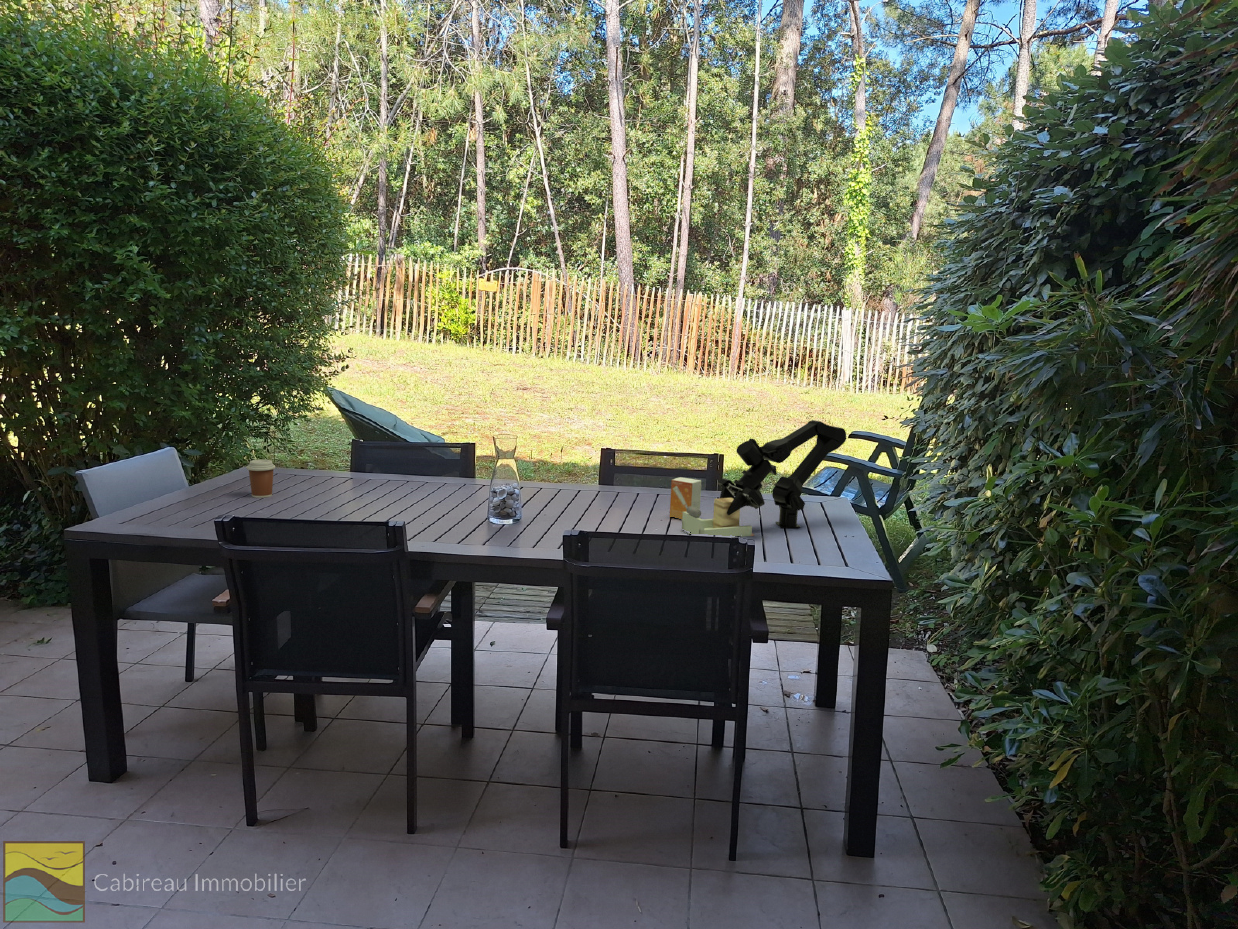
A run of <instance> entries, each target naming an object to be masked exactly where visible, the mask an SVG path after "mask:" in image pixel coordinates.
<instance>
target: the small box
mask: <svg viewBox="0 0 1238 929" xmlns="http://www.w3.org/2000/svg"><path fill="white" fill-rule="evenodd" d="M701 493H702V480H700V479H696V478H695V479H694V478H691V477H690V478H689V477H688V478H687V477H682V476H680V477H676V478H673V479H671V485H670V503H669V518H670V517H675V518H679V519H682V516H683V512H687V511H686V510H687V508H688V507H689V506H692V507H694V508H696V509H698V510H700V511H701ZM679 519H678V520H679Z"/></svg>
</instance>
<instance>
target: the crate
mask: <svg viewBox="0 0 1238 929" xmlns="http://www.w3.org/2000/svg"><path fill="white" fill-rule="evenodd" d="M732 501H733V498H720V497H719V498H718V497H717V498H714V501H713V518H712V519H713V528H723V527H736V526H740V515H741V508H740V509H739V510H737V511H735V512H734V513H732V514H730V515H728V514H727V511H728V509H729V507H730V505H731V503H732Z"/></svg>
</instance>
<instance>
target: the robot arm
mask: <svg viewBox="0 0 1238 929" xmlns="http://www.w3.org/2000/svg"><path fill="white" fill-rule="evenodd" d="M815 437H816V442H815V445H813V448H811V450H810V451H809V452H808V453H807V455H806V456H805V457H804V459H803V460H802V461H801V462H800V463H799V465H798V466H797V467H796V469H795V470H794V471H792V473H791V475H789V476H787V477H786V476H783V475H781V476H780V477H779V479H778V480H777V482H776V483H774V484H773V488H772V490H771V492H772V494H771V496H772V499H773V501H774V502H773V503H774V504H775V506H777V507H779V516H778V517H779V518H778V519H779V520H778V521H774V522H775V524H776V525H777V526H778V527H780V529H800V528H801V525H799V524H798V512H799V511H800V510H802V511H803V510H804V508H805V505H806V502H805V501H804V500H803V498H802V497H801V496H802V494H803V488H804V487H803V486H804V484H805V483H806V482H807V481H808V479H809V478H810V477H811V476H812V474H813V473H814V472H815V471H816V469H817V468H818V467H819V466H820V464H821V463H822V462H823V461H824V459H826V457H827V456H828V454H830V453H831V452H834V451H836V450H839V448H840V447H842V445H844V444H845V442H846V440H847V432H846V430H845V428H843V427H839V426H833V425H829V424H826V423H825V422H823V421H819V420H813V419H811V420H809V421H808V422H807V423H806V424H804V425H802V426H800V428H797V429H796V430H794V431H793V432H791V433H790V434H788V435H786V436H785V437H781V438H778V439H773V440H770V441H767V442H765V443H764V444H763V445H762V446H760V445H759V444H758V442H757V441H756V439H755V438H751V437H750V438H749V439H748V440H746V441H744V442H742V443H740V444H739V445H738V446H737V448H736V454H737V455H738V456H739V457H740V459H741V460H742V461H743V462H744V464H745V465H746V466H748V467H749V466H750V467H749V468H748V469H747V470H745V469H744V470H743V471H742V472H741V473H742V476H741V477H740V478H739V479H738V480H737V479H735V480H734V481H732V480H731V479H728V478H726V477H725V478H721V479H720V480H719V481H718V482H717V484H718V485H719V486H720V488H721V490H720V494H719V495H720V496H719V498H733V501H732V503H731V505H730V507H729V509H728V511H727V514H728V515H730V514H732V513H734V512H735V511H737V510H739V509H740V510H741V509H742V508H744V507H751V508H754V509H755V510H757V509H759V508H760V507H762V506H764V505H765V500H764V497H763V494H762V492H761V489H762V487H763V484H762V482H763V481H764V480H765V479H766V478H767V476H768V475H769V474H772V475H775V476H776V475H777V474H778V472H777V466H776V465H774V464H772V463H776V464H781V463H783V462H785V461H786V460H787V459H788V458H789V457H790V456H791V453H792V451H794V450H795V449H797V448H798V447H800V446H801V445H803V444H804V443H806V442H808V441H811V439H813V438H815ZM771 462H772V463H771Z"/></svg>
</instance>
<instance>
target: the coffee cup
mask: <svg viewBox="0 0 1238 929" xmlns="http://www.w3.org/2000/svg"><path fill="white" fill-rule="evenodd" d="M275 469H276V465H275V464H274V463H273V461H272V460H271V459H260V458H259V459H253V460H250V461H249V464H248V465H247V466H246V470H247V471H248V475H249V483H250V484H249V485H250V489H251V490H250V492H251V497H252V498H257V499H259V498H260V499H265V498H270V497H272V496H273V487H274V486H273V484H274V470H275Z"/></svg>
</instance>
